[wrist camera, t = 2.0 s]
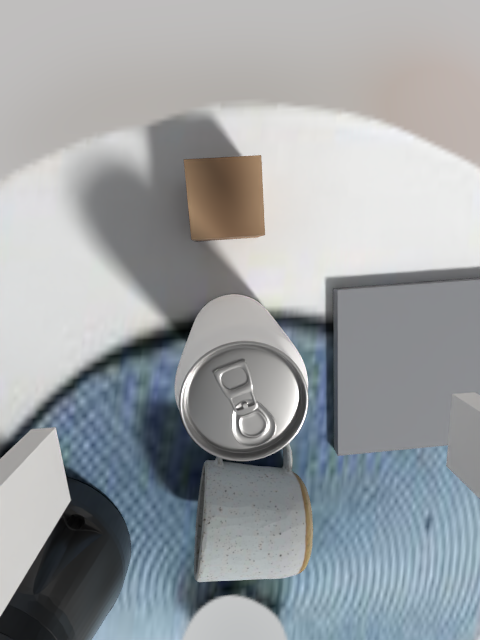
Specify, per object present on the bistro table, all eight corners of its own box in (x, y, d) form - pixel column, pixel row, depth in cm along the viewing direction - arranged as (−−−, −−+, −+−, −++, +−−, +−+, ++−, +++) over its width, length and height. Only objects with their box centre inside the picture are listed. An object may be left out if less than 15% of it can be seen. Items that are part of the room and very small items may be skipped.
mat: (334, 448, 28) (338, 455, 27) (333, 288, 25) (337, 290, 24) (510, 431, 29) (520, 438, 28) (530, 274, 26) (542, 275, 25)
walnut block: (196, 241, 24) (191, 239, 20) (190, 176, 23) (183, 159, 19) (256, 237, 24) (264, 234, 20) (253, 172, 23) (261, 155, 19)
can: (210, 383, 27) (202, 489, 15) (179, 310, 25) (143, 364, 13) (285, 355, 26) (336, 440, 15) (258, 280, 25) (291, 308, 13)
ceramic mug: (285, 523, 30) (308, 613, 22) (195, 518, 29) (187, 610, 22) (303, 416, 28) (334, 475, 20) (207, 408, 27) (203, 467, 20)
